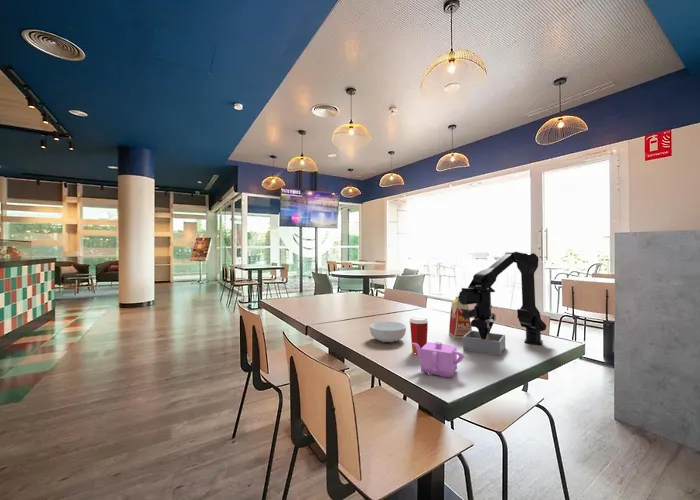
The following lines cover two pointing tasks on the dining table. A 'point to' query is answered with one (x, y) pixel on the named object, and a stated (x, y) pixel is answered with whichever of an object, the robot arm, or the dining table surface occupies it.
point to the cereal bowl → (387, 331)
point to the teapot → (439, 358)
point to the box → (484, 343)
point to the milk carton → (458, 320)
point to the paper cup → (418, 331)
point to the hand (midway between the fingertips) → (484, 340)
